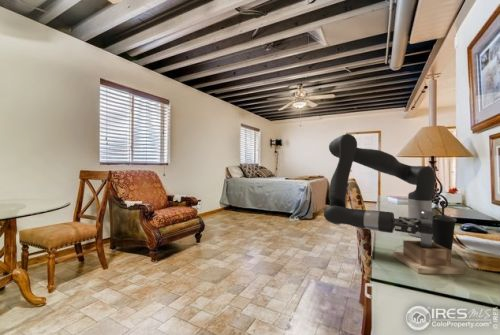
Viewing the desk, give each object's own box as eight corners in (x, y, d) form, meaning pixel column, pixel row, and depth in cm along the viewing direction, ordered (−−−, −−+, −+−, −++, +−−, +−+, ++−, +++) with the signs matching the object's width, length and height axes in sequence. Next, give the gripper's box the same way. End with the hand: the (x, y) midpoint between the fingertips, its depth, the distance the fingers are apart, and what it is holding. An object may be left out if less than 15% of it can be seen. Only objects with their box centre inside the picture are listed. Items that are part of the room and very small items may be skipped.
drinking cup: (450, 259, 84) (450, 203, 84) (426, 252, 91) (426, 200, 91) (460, 255, 88) (460, 202, 87) (436, 249, 94) (436, 199, 94)
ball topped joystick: (419, 256, 82) (420, 209, 82) (431, 259, 80) (432, 210, 80) (419, 260, 79) (420, 210, 79) (432, 262, 77) (433, 212, 77)
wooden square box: (432, 256, 87) (432, 239, 86) (464, 274, 73) (465, 253, 73) (393, 255, 87) (393, 238, 87) (418, 273, 73) (418, 252, 73)
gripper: (375, 214, 83) (433, 220, 73) (382, 208, 94) (433, 213, 84) (375, 235, 83) (433, 244, 73) (381, 226, 94) (433, 234, 84)
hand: (433, 228), depth 79 cm, fingers open, 8 cm apart
